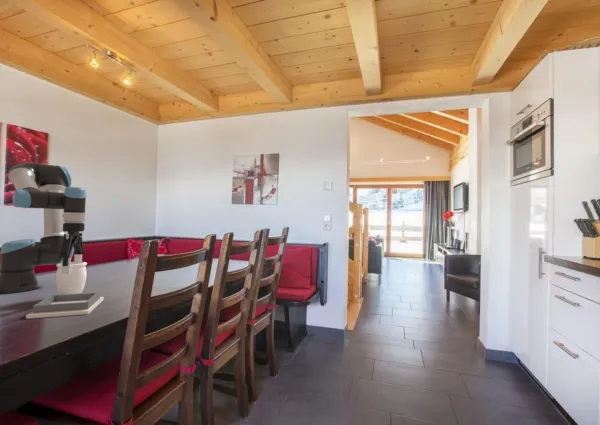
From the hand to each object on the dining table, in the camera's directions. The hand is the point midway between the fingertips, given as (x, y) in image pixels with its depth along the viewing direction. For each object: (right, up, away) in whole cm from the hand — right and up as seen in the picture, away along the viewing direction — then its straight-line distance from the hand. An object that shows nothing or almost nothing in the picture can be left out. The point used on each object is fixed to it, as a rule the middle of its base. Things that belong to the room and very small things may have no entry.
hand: (71, 271), depth 126 cm
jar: (-1, -12, 0) cm, 12 cm away
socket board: (+10, -11, -14) cm, 21 cm away
